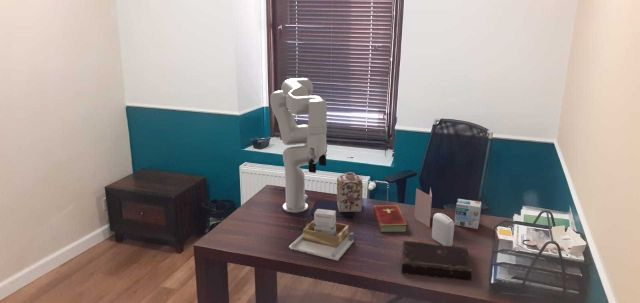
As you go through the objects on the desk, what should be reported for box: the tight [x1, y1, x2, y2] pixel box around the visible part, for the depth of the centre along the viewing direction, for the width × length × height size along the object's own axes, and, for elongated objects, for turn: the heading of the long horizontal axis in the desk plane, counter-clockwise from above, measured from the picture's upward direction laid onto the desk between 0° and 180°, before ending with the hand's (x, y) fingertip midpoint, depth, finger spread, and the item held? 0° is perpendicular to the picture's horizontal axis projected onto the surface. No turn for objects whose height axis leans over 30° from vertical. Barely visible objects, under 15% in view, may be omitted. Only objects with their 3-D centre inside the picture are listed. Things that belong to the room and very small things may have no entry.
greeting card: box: [413, 187, 434, 228], centre depth 209 cm, size 11×7×15 cm, turn 170°
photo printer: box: [431, 212, 455, 246], centre depth 190 cm, size 10×4×12 cm, turn 26°
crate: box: [302, 219, 350, 248], centre depth 193 cm, size 12×16×5 cm
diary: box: [401, 240, 473, 281], centre depth 175 cm, size 19×25×5 cm
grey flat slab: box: [288, 222, 355, 261], centre depth 189 cm, size 17×22×4 cm
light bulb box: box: [453, 198, 482, 230], centre depth 207 cm, size 11×7×11 cm, turn 68°
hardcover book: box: [372, 204, 408, 233], centre depth 210 cm, size 12×21×4 cm, turn 2°
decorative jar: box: [336, 171, 364, 213], centre depth 224 cm, size 12×12×18 cm
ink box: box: [313, 208, 337, 236], centre depth 191 cm, size 9×5×12 cm, turn 74°
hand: (317, 168), depth 191 cm, fingers open, 9 cm apart
